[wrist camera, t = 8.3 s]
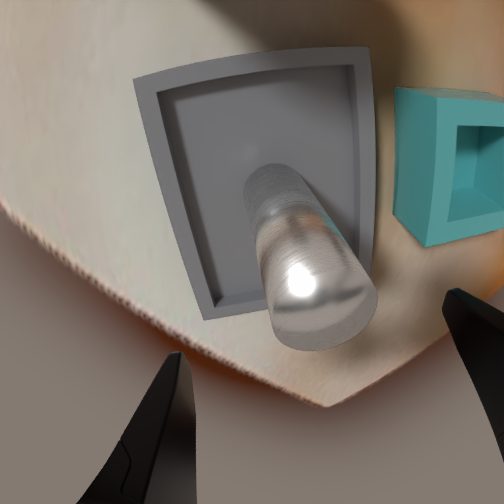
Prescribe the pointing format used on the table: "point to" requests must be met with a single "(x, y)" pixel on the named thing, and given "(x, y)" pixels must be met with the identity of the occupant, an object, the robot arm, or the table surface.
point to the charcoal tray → (259, 155)
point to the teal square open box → (448, 163)
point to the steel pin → (305, 263)
